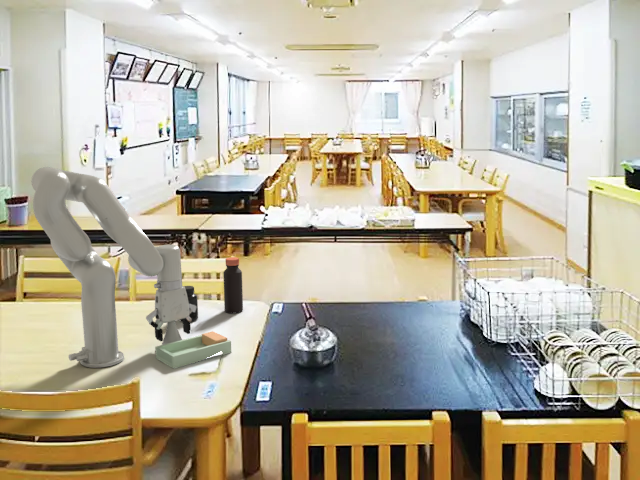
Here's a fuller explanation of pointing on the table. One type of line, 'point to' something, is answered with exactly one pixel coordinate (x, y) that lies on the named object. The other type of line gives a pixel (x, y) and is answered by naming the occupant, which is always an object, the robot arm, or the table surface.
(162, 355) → the pale green shallow box
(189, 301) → the supplement bottle
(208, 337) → the block
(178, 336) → the flask
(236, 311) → the vinegar
